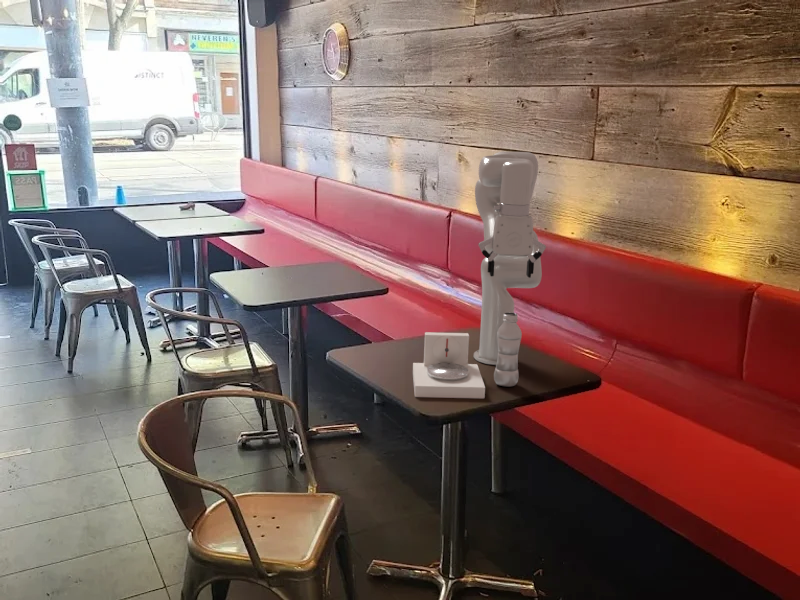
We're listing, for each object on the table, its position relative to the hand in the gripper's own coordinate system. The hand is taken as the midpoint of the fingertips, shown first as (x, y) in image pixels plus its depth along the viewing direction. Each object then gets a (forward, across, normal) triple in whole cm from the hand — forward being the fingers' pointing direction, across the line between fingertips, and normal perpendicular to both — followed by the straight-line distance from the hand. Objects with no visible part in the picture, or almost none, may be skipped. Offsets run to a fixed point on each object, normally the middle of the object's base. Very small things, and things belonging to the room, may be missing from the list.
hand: (510, 275), depth 195 cm
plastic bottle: (+31, +1, 0) cm, 31 cm away
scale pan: (+27, -15, -1) cm, 31 cm away
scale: (+30, -15, -1) cm, 34 cm away
